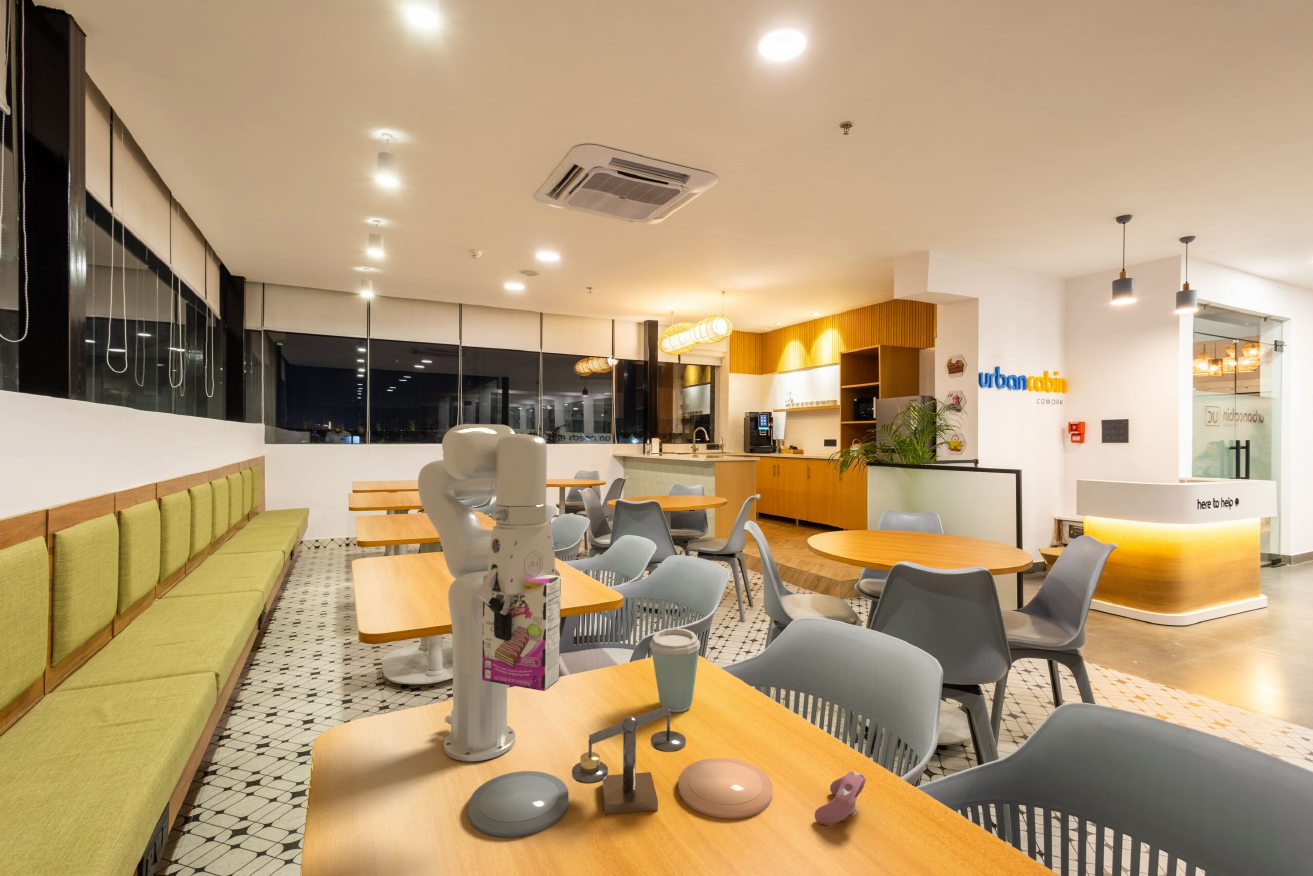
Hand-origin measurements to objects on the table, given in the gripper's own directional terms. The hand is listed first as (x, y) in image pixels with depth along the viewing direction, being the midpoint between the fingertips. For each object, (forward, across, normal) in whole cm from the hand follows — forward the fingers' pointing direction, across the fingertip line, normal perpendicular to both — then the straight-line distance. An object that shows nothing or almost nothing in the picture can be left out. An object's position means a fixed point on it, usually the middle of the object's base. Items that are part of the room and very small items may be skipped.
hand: (520, 631), depth 95 cm
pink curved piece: (+27, +29, -40) cm, 56 cm away
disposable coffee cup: (+27, +43, +1) cm, 51 cm away
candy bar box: (+8, 0, 0) cm, 8 cm away
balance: (+27, +12, -12) cm, 32 cm away
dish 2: (+27, +23, -23) cm, 42 cm away
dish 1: (+27, 0, 0) cm, 27 cm away
